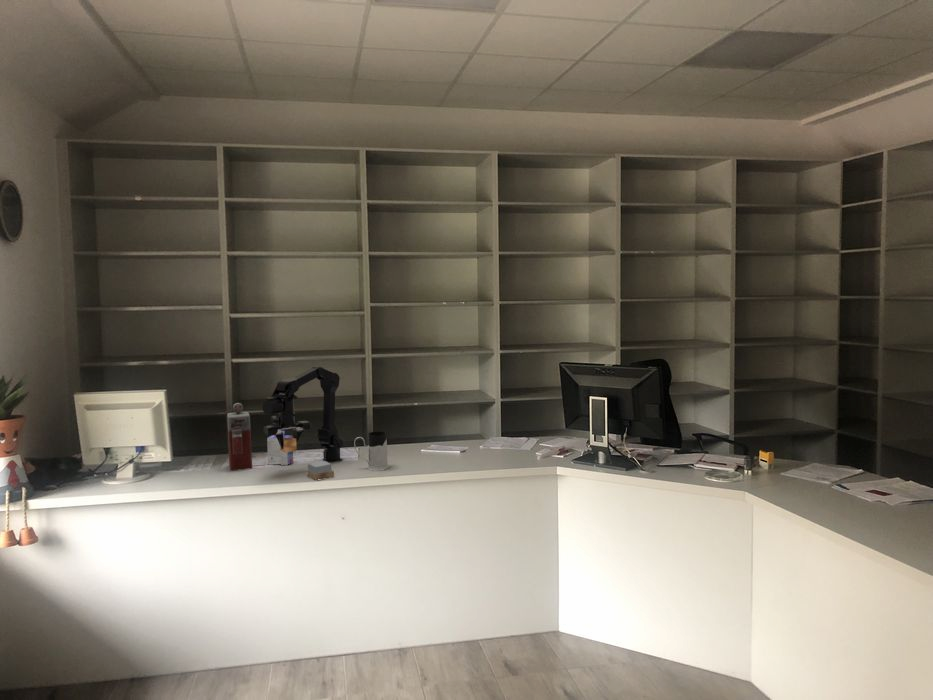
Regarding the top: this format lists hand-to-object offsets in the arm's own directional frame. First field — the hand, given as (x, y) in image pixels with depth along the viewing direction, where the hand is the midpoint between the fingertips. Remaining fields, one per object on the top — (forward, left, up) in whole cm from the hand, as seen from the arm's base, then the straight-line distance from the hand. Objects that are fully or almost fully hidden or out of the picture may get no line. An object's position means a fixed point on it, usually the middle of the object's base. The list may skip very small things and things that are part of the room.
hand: (288, 448), depth 279 cm
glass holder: (-31, +15, -11) cm, 36 cm away
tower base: (-8, +13, -12) cm, 19 cm away
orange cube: (0, 0, -1) cm, 1 cm away
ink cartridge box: (-4, -18, -11) cm, 22 cm away
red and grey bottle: (+12, -23, -11) cm, 29 cm away
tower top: (-8, +13, -8) cm, 17 cm away
